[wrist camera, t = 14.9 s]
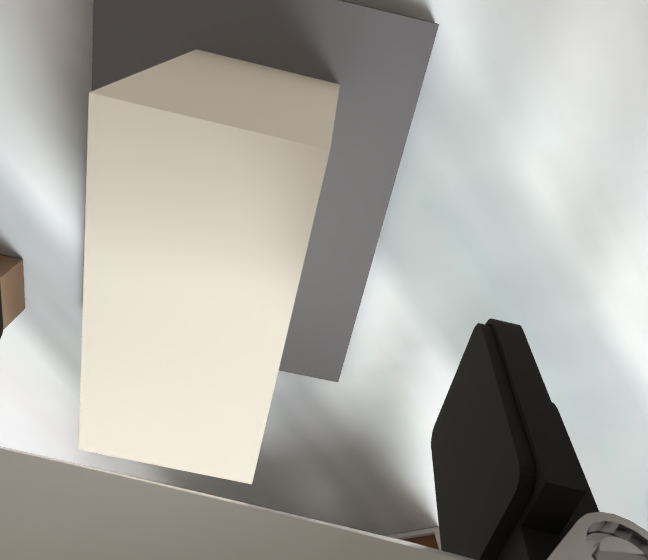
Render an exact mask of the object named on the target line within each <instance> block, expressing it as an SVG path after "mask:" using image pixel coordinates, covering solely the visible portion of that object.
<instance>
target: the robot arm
mask: <svg viewBox="0 0 648 560" xmlns="http://www.w3.org/2000/svg"><path fill="white" fill-rule="evenodd" d="M2 333H3V312H2V299H1V285H0V338H1V336H2ZM431 449H432V460H433V470H434V480H435V491H436V501H437V511H438V521H439V532H440V542H441V550H438V549H434V548H430V547H427V546H423V545H419V544H416V543H412V542H408V541H404V540H399V539H395V538H391V537H387V536H382V535H378V534H374V533H370V532H366V531H361V530H357V529H353V528H349V527H345V526H341V525H336V524H332V523H328V522H324V521H319V520H315V519H311V518H307V517H302V516H298V515H294V514H290V513H285V512H281V511H277V510H273V509H268V508H264V507H260V506H256V505H251V504H247V503H243V502H239V501H235V500H230V499H226V498H222V497H218V496H213V495H209V494H205V493H201V492H196V491H192V490H188V489H184V488H179V487H175V486H171V485H166V484H162V483H158V482H153V481H149V480H145V479H140V478H136V477H132V476H127V475H123V474H119V473H114V472H110V471H106V470H101V469H97V468H93V467H88V466H84V465H80V464H75V463H71V462H66V461H62V460H58V459H53V458H49V457H45V456H40V455H36V454H32V453H27V452H23V451H18V450H14V449H10V448H5V447H1V446H0V560H648V532H647V531H646V530H645V529H643V528H641V527H640V526H638V525H636V524H635V523H633V522H631V521H630V520H627V519H625V518H622V517H620V516H617V515H615V514H610V513H604V512H599V510H598V507H597V505H596V503H595V500H594V498H593V495H592V493H591V490H590V488H589V485H588V483H587V480H586V478H585V475H584V473H583V470H582V468H581V465H580V463H579V460H578V458H577V456H576V453H575V451H574V448H573V446H572V443H571V441H570V438H569V436H568V433H567V431H566V428H565V426H564V423H563V421H562V418H561V416H560V413H559V411H558V409H557V407H556V406H555V404H554V403H552V402H551V400H550V397H549V395H548V392H547V390H546V387H545V384H544V382H543V379H542V377H541V374H540V372H539V369H538V367H537V364H536V362H535V359H534V357H533V354H532V352H531V349H530V347H529V344H528V342H527V339H526V336H525V334H524V331H523V329H522V327H521V326H520V325H517V324H512V323H508V322H504V321H500V320H495V319H489V320H488V321H487V322H486V324H485V325H484V324H480V323H478V324H477V325H476V326H475V328H474V330H473V332H472V335H471V337H470V340H469V342H468V345H467V347H466V349H465V352H464V354H463V357H462V359H461V362H460V364H459V367H458V369H457V372H456V374H455V376H454V379H453V381H452V384H451V386H450V389H449V391H448V394H447V396H446V399H445V401H444V403H443V406H442V408H441V411H440V413H439V416H438V418H437V421H436V423H435V426H434V428H433V432H432V438H431Z"/></svg>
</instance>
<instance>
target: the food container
mask: <svg viewBox="0 0 648 560" xmlns="http://www.w3.org/2000/svg"><path fill="white" fill-rule="evenodd" d="M387 537H391V538H395V539H399V540H404V541H408V542H412V543H416V544H419V545H423V546H427V547H430V548H434V549H438V550H441V542H440V532H439V527H433V528H427V529H421V530H416V531H410V532H404V533H398V534H393V535H387Z"/></svg>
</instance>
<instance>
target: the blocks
mask: <svg viewBox="0 0 648 560" xmlns="http://www.w3.org/2000/svg"><path fill="white" fill-rule="evenodd" d="M0 285H1V299H2V312H3V330H4V329H5V328H6V327H7V326H8V325H9V324H10V323H11V322H12V321H13V320H14V319H15V318H16V317H17V316H18V315H19V314H20V313H21V312H22V311H23V310H24V309H25V298H24V276H23V259H18V258H14V257H9V256H4V255H0Z"/></svg>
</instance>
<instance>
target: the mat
mask: <svg viewBox="0 0 648 560" xmlns="http://www.w3.org/2000/svg"><path fill="white" fill-rule="evenodd" d="M438 26H439V24H437V23H433V22H429V21H424V20H420V19H416V18H412V17H408V16H404V15H399V14H395V13H391V12H387V11H383V10H379V9H374V8H370V7H366V6H362V5H358V4H354V3H349V2H345V1H341V0H94V13H93V69H92V91H94V90H96V89H99V88H101V87H104V86H106V85H109V84H111V83H114V82H116V81H119V80H121V79H124V78H126V77H129V76H131V75H134V74H136V73H139V72H141V71H144V70H146V69H149V68H151V67H154V66H156V65H159V64H161V63H164V62H166V61H169V60H171V59H174V58H176V57H178V56H181V55H183V54H186V53H188V52H191V51H193V50H196V49H198V50H202V51H206V52H210V53H214V54H218V55H222V56H226V57H230V58H234V59H238V60H242V61H247V62H251V63H255V64H259V65H263V66H267V67H271V68H275V69H279V70H283V71H287V72H291V73H295V74H299V75H303V76H307V77H312V78H316V79H320V80H324V81H328V82H332V83H336V84H340V87H339V94H338V101H337V107H336V114H335V121H334V128H333V134H332V141H331V148H330V153H329V157H328V161H327V166H326V170H325V174H324V178H323V183H322V187H321V191H320V195H319V200H318V204H317V208H316V213H315V217H314V221H313V225H312V230H311V234H310V238H309V242H308V247H307V251H306V255H305V260H304V264H303V268H302V272H301V277H300V281H299V285H298V289H297V294H296V298H295V302H294V306H293V311H292V315H291V319H290V324H289V328H288V332H287V336H286V341H285V345H284V349H283V353H282V358H281V362H280V366H279V370H280V371H285V372H290V373H295V374H300V375H305V376H310V377H314V378H319V379H324V380H329V381H334V382H338V381H339V377H340V373H341V370H342V366H343V363H344V359H345V356H346V352H347V349H348V345H349V342H350V338H351V334H352V331H353V327H354V324H355V320H356V317H357V313H358V310H359V306H360V303H361V299H362V295H363V292H364V288H365V285H366V281H367V278H368V274H369V271H370V267H371V264H372V260H373V256H374V253H375V249H376V246H377V242H378V239H379V235H380V232H381V228H382V225H383V221H384V217H385V214H386V210H387V207H388V203H389V200H390V196H391V193H392V189H393V186H394V182H395V178H396V175H397V171H398V168H399V164H400V161H401V157H402V154H403V150H404V147H405V143H406V139H407V136H408V132H409V129H410V125H411V122H412V118H413V115H414V111H415V108H416V104H417V101H418V97H419V93H420V90H421V86H422V83H423V79H424V76H425V72H426V69H427V65H428V62H429V58H430V54H431V51H432V47H433V44H434V40H435V37H436V33H437V30H438Z"/></svg>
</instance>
